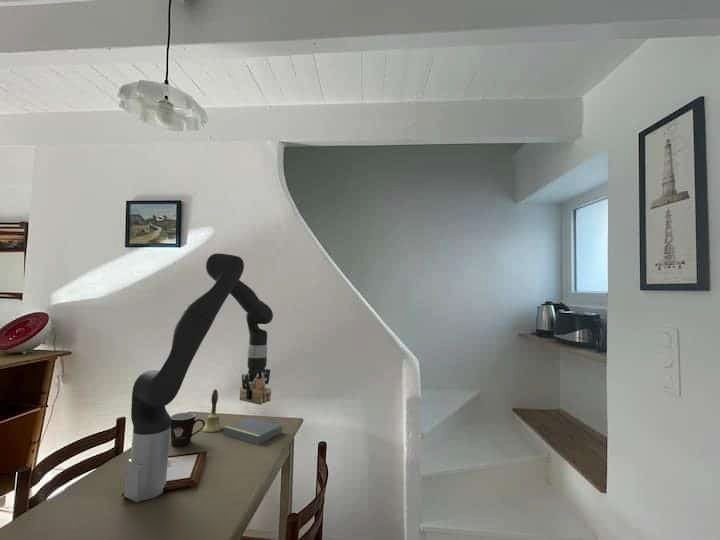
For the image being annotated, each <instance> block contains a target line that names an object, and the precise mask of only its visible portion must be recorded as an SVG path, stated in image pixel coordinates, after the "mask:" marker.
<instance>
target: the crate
mask: <svg viewBox="0 0 720 540" xmlns="http://www.w3.org/2000/svg"><path fill="white" fill-rule="evenodd" d="M250 382H253V381H251V380H250ZM250 386H251V384H250ZM250 386H249V387H250ZM260 388H263V378H258V379H256V383H255V385H254V386H253V389H254V390H257V389H260Z"/></svg>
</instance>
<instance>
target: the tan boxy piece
mask: <svg viewBox="0 0 720 540" xmlns="http://www.w3.org/2000/svg"><path fill="white" fill-rule="evenodd" d="M271 398H272V388H271V387H266V386H265V387H263V388H260V389H257V390H254V389H252V399H251V400H247V398H246V389H243V388H242V386H241V387H240V388H239V401H242V402H247V403H251V404H254V405H263V404H265V403H269V402H271V401H272V399H271Z"/></svg>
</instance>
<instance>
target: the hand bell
mask: <svg viewBox="0 0 720 540" xmlns="http://www.w3.org/2000/svg"><path fill="white" fill-rule="evenodd" d="M210 398H211V399H210V400H211V411H210V414H209V415H208V416H207V418H206V421H205V426H204V427H203V426H202V427H203V429H202V430H201V432H204V433H215V432H216V431H217V432H219V430H220V431H222V430H223V429H224V426H223V425H222V424H221V422H220V416H219V414H218V413H217V412H216V411H217V403H218V401H219V394H218V389H213V391H212V394H211V397H210ZM222 428H223V429H222ZM221 429H222V430H221Z"/></svg>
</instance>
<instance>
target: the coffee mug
mask: <svg viewBox="0 0 720 540" xmlns="http://www.w3.org/2000/svg"><path fill="white" fill-rule="evenodd" d="M170 417H171V425H170V441H171V442H170V444H171V447H173V448H182V447H187V446H188V445H190V444H191V441H192V437H193V436H194V435H197V434H198V433H199V432H202V429H203V427H204V426H205V424H206V421H205V420H204V419H201V418H199V419H198V418H197V419H196V413H195V412H188V411H187V412H185V411H184V412H178V413H174V414H172V415H170ZM197 422H201V423H202V426H201V428H200V429H198V430H196V431H195V432H193V430H194V426H195V424H196V423H197Z"/></svg>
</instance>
